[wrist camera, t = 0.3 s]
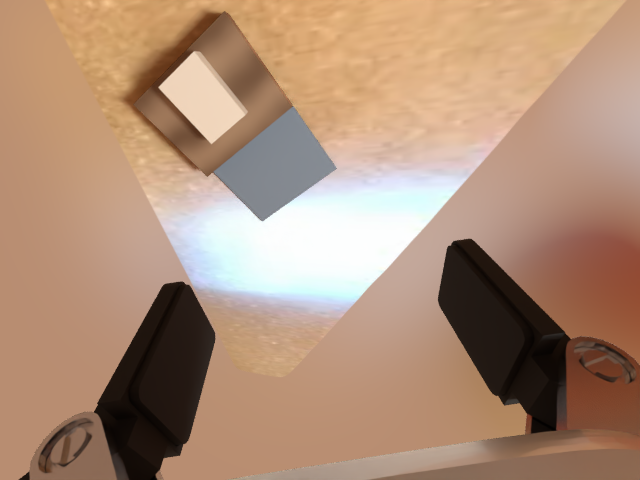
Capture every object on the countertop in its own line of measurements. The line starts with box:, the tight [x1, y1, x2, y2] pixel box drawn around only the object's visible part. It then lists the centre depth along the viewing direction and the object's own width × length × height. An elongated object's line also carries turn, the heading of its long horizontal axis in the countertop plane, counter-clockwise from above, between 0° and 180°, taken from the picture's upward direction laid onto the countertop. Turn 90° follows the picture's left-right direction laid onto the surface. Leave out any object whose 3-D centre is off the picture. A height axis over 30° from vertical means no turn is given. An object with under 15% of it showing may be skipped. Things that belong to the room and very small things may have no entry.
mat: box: [214, 106, 337, 221], centre depth 44 cm, size 11×16×1 cm
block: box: [158, 51, 248, 144], centre depth 34 cm, size 8×6×2 cm
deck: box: [133, 11, 292, 177], centre depth 37 cm, size 12×16×3 cm
